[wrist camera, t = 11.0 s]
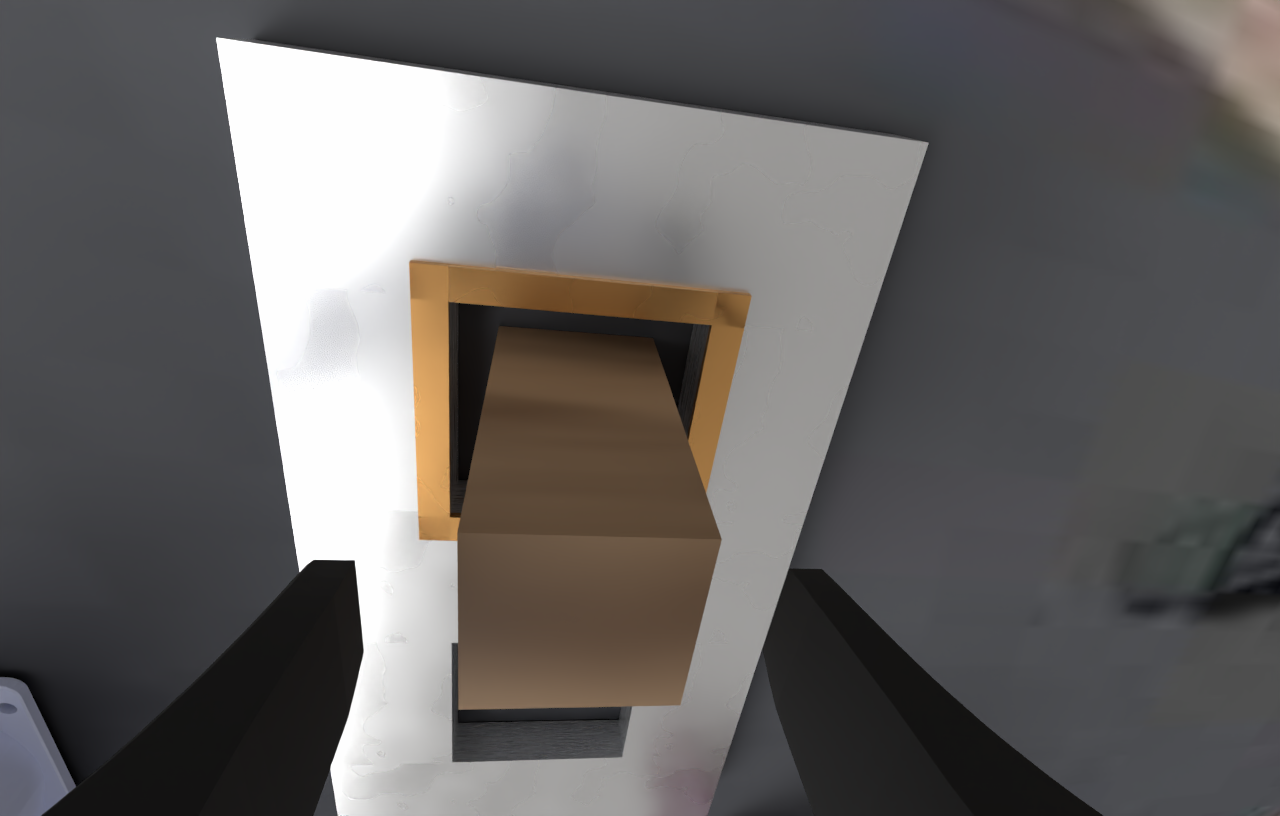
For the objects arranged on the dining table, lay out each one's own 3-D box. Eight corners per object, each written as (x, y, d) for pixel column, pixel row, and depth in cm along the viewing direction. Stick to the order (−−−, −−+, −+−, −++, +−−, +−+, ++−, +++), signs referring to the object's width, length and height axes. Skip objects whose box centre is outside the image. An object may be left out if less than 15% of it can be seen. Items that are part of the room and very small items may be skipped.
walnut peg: (633, 462, 19) (680, 705, 12) (495, 456, 18) (458, 709, 11) (653, 337, 17) (721, 539, 10) (499, 326, 16) (457, 532, 9)
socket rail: (697, 784, 27) (705, 826, 26) (352, 797, 25) (340, 844, 23) (896, 134, 15) (933, 144, 13) (251, 39, 13) (210, 37, 11)
